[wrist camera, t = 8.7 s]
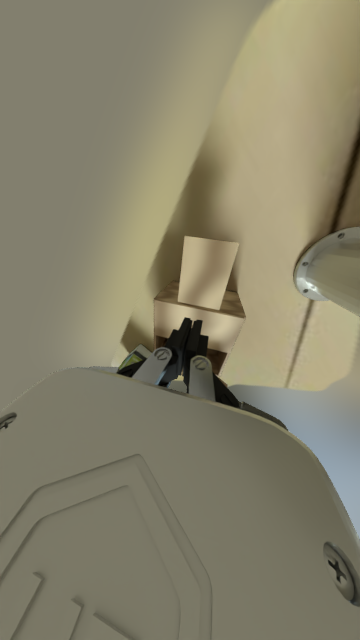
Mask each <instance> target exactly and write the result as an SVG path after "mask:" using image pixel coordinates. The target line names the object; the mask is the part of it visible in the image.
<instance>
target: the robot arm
mask: <svg viewBox="0 0 360 640" xmlns="http://www.w3.org/2000/svg"><path fill="white" fill-rule="evenodd" d="M338 235H339V236H338ZM303 262H304V264H303ZM294 284H295V287H296V288H297V290H298V291H299V292H300V293H301V294H302V295H304V296H305V297H307V298H309V299H312V300H317V301H329V300H331V301H332V302H334V303H336V304H338V305H339V306H341V307H343V308H345V309H347V310H348V311H350V312H352V313H354V314H355V315H357V316H359V317H360V227H350V228H346V229H342V230H339V231H336V232H334V233H331V234H329V235H327V236H326V237H324V238H322V239H320V240H319V241H318V242H316V243H315V244H314V245H312V246H311V247H310V248H309V249H308V250H307V251H306V252H305V254H304V255H303V256H302V257H301V259H300V260H299V262H298V264H297V266H296V269H295V272H294ZM304 289H305V290H304ZM192 321H193V320H191V318H186V317H184V320H183V322H182V324H181V326H180V328H179V330H175V329H173V331H172V333H171V335H170V337H169V339H168V341H167V343H166V345H165V346H164V347H161V348H157V349H155V350H154V351H153V353H152V354H151V355H150V356H149V357H148V358H147V359H144V360H141V361H139V362H136V363H133V364H131V365H128V366H125V367H123V368H122V369H119V367H95V366H93V367H89V368H85V367H84V368H83V367H76V368H67V369H62V370H58V371H56V372H53V373H52V374H50V375H48V376H46V377H45V378H43V379H42V380H41V381H39V382H38V383H36V384H35V385H33V386H32V387H31V388H30V389H28V390H27V391H25V392H24V393H23V394H22V395H20V396H19V397H18V398H16V399H15V400H14V401H13V402H11V403H10V404H9V405H8V406H6V407H5V408H4V409H3V410H1V411H0V640H360V539H359V537H358V535H357V532H356V530H355V528H354V526H353V524H352V522H351V520H350V518H349V515H348V513H347V511H346V509H345V507H344V505H343V503H342V501H341V499H340V497H339V495H338V493H337V491H336V489H335V487H334V486H333V483H332V482H331V480H330V478H329V476H328V474H327V472H326V471H325V469H324V467H323V466H322V464H321V463H320V462H319V460H318V458H317V457H316V456H315V454H314V453H313V452H312V451H311V450H310V449H309V448H308V447H307V446H306V445H305V444H304V443H303V442H302V441H301V440H300V439H298V438H297V437H296V436H294V435H293V434H292V433H290V432H289V431H288V429H287V428H286V426H285V425H284V424H283V423H282V422H281V421H280V420H279V419H277V418H275V417H273V416H271V415H269V414H267V413H265V412H263V411H261V410H259V409H257V408H255V407H253V406H251V405H249V404H247V403H245V402H242V403H241V402H239V401H238V400H237V399H236V398H235V396H234V395H233V394H232V393H231V392H230V391H229V389H228V388H227V387H226V386H225V385H224V384H223V383H222V381H221V380H220V379H219V378H218V377H217V376H216V375H215V374H214V373H213V371H212V366H211V362H210V361H209V359H207V358H206V356H207V347H208V339H209V336H206V335H201V328H202V323H203V320H198V319H197V321H194V323H193V326H192ZM182 369H183V376H184V380H183V381H184V383H185V384H186V386H187V393H183V392H179V391H176V390H172V389H169V386H170V384H171V381H172V380H174V379H177V378H178V375H180V376H181V373H182Z"/></svg>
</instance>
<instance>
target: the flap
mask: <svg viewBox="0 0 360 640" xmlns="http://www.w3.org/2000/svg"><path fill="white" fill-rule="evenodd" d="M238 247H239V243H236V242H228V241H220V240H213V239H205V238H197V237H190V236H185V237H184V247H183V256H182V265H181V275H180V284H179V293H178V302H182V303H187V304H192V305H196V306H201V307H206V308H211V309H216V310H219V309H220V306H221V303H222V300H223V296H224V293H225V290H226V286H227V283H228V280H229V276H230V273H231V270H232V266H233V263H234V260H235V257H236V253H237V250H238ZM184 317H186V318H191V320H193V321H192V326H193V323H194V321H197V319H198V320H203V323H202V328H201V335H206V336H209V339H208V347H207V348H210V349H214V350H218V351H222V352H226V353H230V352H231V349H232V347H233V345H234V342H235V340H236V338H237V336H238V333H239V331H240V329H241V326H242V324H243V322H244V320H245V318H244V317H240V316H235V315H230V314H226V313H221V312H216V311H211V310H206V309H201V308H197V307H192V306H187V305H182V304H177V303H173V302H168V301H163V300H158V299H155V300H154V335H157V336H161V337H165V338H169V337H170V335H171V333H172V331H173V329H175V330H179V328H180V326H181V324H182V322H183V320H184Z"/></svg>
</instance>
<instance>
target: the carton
mask: <svg viewBox="0 0 360 640" xmlns="http://www.w3.org/2000/svg"><path fill="white" fill-rule="evenodd" d="M179 284H180V282H177V281H172V282H171V283H170V284H169V285H168V286H167V287H166V288H165V289H164V290H163V291H161V292H160V293H159V294H158V295H157V296H156V297H155V298H154V300H155V299H158V300H163V301H168V302H173V303H177V304H182V305H187V306H192V307H197V308H201V309H206V310H211V311H216V312H221V313H226V314H230V315H235V316H240V317H244V318H245V319H246V316H245V313H244V310H243V307H242V304H241V301H240V298H239V295H238V293H237V292H231V291H226V290H225V293H224V296H223V300H222V303H221V306H220V309H219V310H216V309H211V308H206V307H201V306H196V305H192V304H187V303H182V302H178V293H179ZM244 321H245V320H244ZM243 324H244V322H243ZM243 324H242V326H243ZM242 326H241V328H242ZM240 330H241V329H240ZM239 333H240V331H239ZM239 333H238V335H239ZM237 337H238V336H237ZM168 339H169V338H165V337H161V336H157V335H154V350H155V349H157V348H161V347H164V346H165V345H166V343H167V341H168ZM236 339H237V338H236ZM235 342H236V340H235ZM235 342H234V344H235ZM233 346H234V345H233ZM232 349H233V347H232ZM232 349H231V351H232ZM230 353H231V352H230ZM230 353H226V352H222V351H218V350H214V349H210V348H207V356H206V358H207V359H209V361H210V362H211V366H212V371H213V373H214V374H215V375H216V376H218V377H220V376H221V373H222V371H223V369H224V367H225V364H226V362H227V360H228V358H229V355H230Z"/></svg>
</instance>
